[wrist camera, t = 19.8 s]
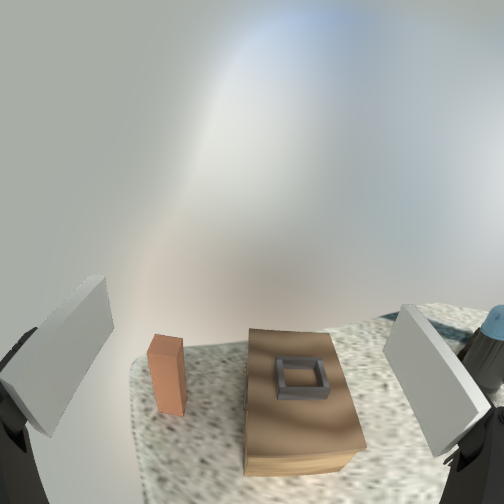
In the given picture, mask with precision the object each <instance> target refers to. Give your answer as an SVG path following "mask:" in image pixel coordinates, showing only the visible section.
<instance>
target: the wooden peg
mask: <svg viewBox="0 0 504 504" xmlns="http://www.w3.org/2000/svg"><path fill="white" fill-rule="evenodd" d="M147 357H148V362H149V368H150V373H151V378H152V382H153V387H154V391H155V396H156V400H157V404H158V408H159V412H163V413H168V414H173V415H179V416H183V415H184V410H185V406H186V401H187V391H186V380H185V367H184V352H183V339H182V338H177V337H170V336H165V335H159V334H155V336H154V338H153V340H152V342H151V344H150V347H149V349H148V351H147Z"/></svg>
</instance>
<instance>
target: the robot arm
mask: <svg viewBox="0 0 504 504" xmlns="http://www.w3.org/2000/svg"><path fill="white" fill-rule="evenodd" d="M113 329H114V325H113V320H112V315H111V310H110V304H109V298H108V292H107V285H106V279H105V277H102V276H96V275H90V276H89V277H88V278H87V279H86V280H85V281H84V282H83V283H82V284H81V285H80V286H79V287H78V288H77V289H76V290H74V291H73V292H72V293H71V294H70V295H69V296H68V297H67V298H66V299H65V300H64V302H62V304H60V305H59V307H57V309H56V310H55V311H54V312H53V313H52V314H51V315H50V316H49V317H48V318H47V319H46V320H45V321H44V322H43V323H42V324H41V325H40V326H39V328H37V327H35V328H33V329H31V330H30V331H28V332H26V333H25V334H24V335H23V336H22V337H21V338H20V340H19V341H18V343H16V344H15V345H14V346H13V347H12V350H10V351H9V352H8V353H7V354H6V356H5V357H4V358H3V359H2V360H1V362H0V504H49V502H48V499H47V497H46V494H45V491H44V488H43V486H42V483H41V480H40V477H39V473H38V470H37V467H36V463H35V460H34V456H33V452H32V448H31V444H30V439H29V434H28V430H27V428H26V426H25V424H26V422H27V420H28V421H29V423H30V424H31V425H32V426H33V428H34V429H35V430H37V431H39V432H40V433H42V434H44V435H46V436H48V437H50V438H51V436H52V434H53V432H54V431H55V428H56V426H57V425H58V423H59V421H60V419H61V417H62V415H63V413H64V411H65V410H66V408H67V406H68V404H69V402H70V400H71V399H72V397H73V395H74V393H75V391H76V390H77V388H78V386H79V384H80V383H81V381H82V379H83V378H84V376H85V374H86V373H87V371H88V369H89V368H90V366H91V364H92V363H93V361H94V359H95V357H96V356H97V354H98V353H99V351H100V349H101V348H102V346H103V345H104V343H105V342H106V340H107V339H108V337H109V335H110V334H111V332H112V331H113ZM480 329H481V330H480V332H479V334H478V335H477V337H476V339H475V341H474V343H473V344H472V346H471V348H470V350H469V351H468V353H467V355H466V356H465V358H464V360H463V361H462V362H461V361H460V360H459V359H458V358H457V357H456V355H455V354H454V353H453V351H452V350H451V349H450V347H449V346H448V345H447V344H446V342H445V341H444V340H443V338H442V337H441V336H440V335H439V333H438V332H437V331H436V330H435V328H434V327H433V326H432V325H431V324H430V322H429V321H428V320H427V319H426V318H425V316H424V315H423V314H422V313H421V312H420V310H419V309H418V308H417V307H416V306H415V305H402V307H401V309H400V311H399V314H398V316H397V319H396V321H395V324H394V326H393V328H392V331H391V333H390V335H389V337H388V339H387V342H386V344H385V346H384V348H383V350H382V351H383V353H384V354H385V356H386V358H387V360H388V362H389V364H390V366H391V368H392V370H393V372H394V373H395V375H396V377H397V379H398V381H399V383H400V385H401V387H402V389H403V391H404V393H405V395H406V397H407V399H408V401H409V403H410V406H411V408H412V410H413V412H414V414H415V416H416V418H417V420H418V423H419V425H420V427H421V429H422V431H423V434H424V436H425V438H426V440H427V443H428V445H429V447H430V450H431V452H432V455H433V457H434V458H435V457H437V456H440V455H442V454H445V453H447V452H448V451H450V450H451V449H452V448H453V447H454V446H455V445H456V444H458V446H459V448H458V449H457V450H456V451H455V452H454V453H453V454H452V455H450V456H449V457H448V458H447V459H446V460H445V461H444V463H443V464H444V465H445V464H447V463H448V462H449V461H450V460H451V459H453V461H452V462H450V463H449V464H448V466H450V467H451V468H450V472H449V475H448V479H447V482H446V485H445V488H444V491H443V494H442V497H441V500H440V503H439V504H504V407H502V406H500V407H497V408H496V407H495V406H494V405H493V403H492V401H493V399H494V396H495V394H496V392H497V390H498V389H499V388H500V386H501V385H502V384H504V305H498V306H495V307H494V308H492V309H491V311H490V312H489V314H488V316H487V318H486V320H485V321H484V323H483V324H482V325H481V328H480Z"/></svg>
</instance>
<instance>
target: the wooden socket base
mask: <svg viewBox="0 0 504 504" xmlns="http://www.w3.org/2000/svg"><path fill="white" fill-rule="evenodd" d="M244 410H246V411H245V455H244V476H299V475H312V474H322V473H331V472H338V471H340V470H341V469H342V468H343V467H344V466H345V465H346V464H347V463H348V462H349V461H350V460H351V459H352V458H353V457H354V456H355V454H356V453H357V452H358V451H363V450H365V449H366V448H367V445H366V442H365V439H364V435H363V432H362V429H361V426H360V422H359V419H358V416H357V413H356V410H355V407H354V404H353V401H352V398H351V395H350V392H349V389H348V386H347V383H346V380H345V377H344V374H343V371H342V368H341V365H340V362H339V359H338V357H337V354H336V351H335V348H334V345H333V343H332V340H331V337H330V334H329V333H314V332H292V331H275V330H262V329H249V350H248V359H247V370H246V382H245V388H244Z"/></svg>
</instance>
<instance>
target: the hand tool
mask: <svg viewBox="0 0 504 504" xmlns="http://www.w3.org/2000/svg"><path fill="white" fill-rule="evenodd" d="M480 330H481V329H480V327H479V328H478V329H477V330H476V331H475V333H474V335H473V336H472V338H471V339H470V340H469V341H468V343H467V344H466V346H465V347H464V348H463V349H462V350H461V351H460V352H459V353H458V355H457V358H458V359H459V360H460V361H461V362H462V361H463V360H464V358H465V356H466V355H467V353H468V351H469V350H470V348H471V346H472V344H473V343H474V341H475V339H476V337H477V335H478V334H479V332H480Z"/></svg>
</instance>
